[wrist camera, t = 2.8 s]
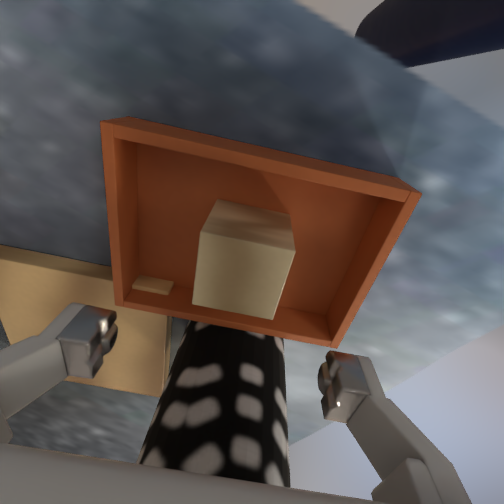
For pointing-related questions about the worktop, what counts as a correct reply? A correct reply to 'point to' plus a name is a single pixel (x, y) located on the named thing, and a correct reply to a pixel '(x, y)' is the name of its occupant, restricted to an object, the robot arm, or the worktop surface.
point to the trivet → (89, 293)
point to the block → (243, 259)
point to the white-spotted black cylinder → (223, 408)
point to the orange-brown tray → (253, 194)
